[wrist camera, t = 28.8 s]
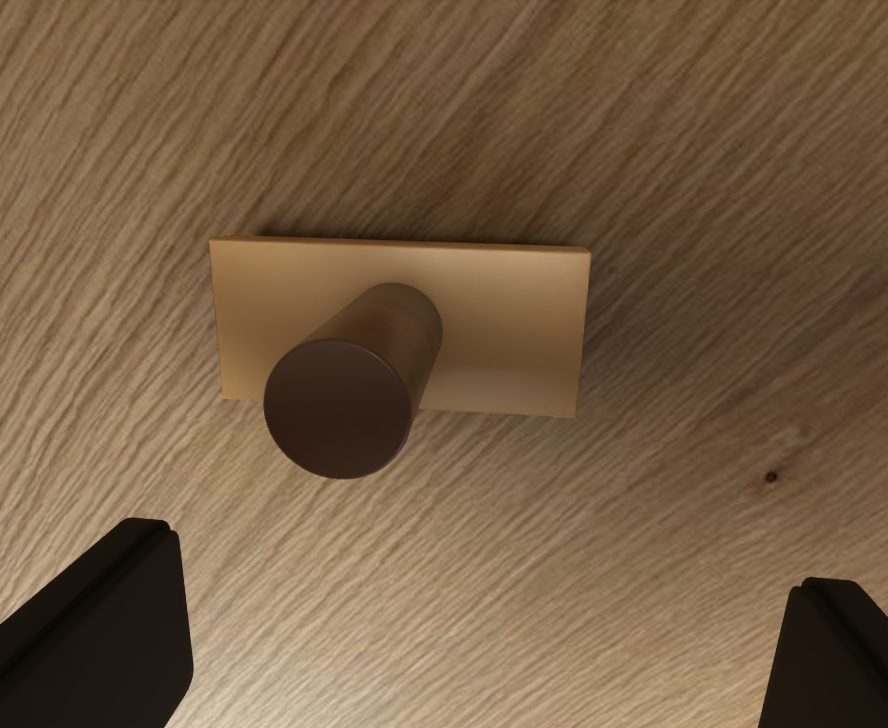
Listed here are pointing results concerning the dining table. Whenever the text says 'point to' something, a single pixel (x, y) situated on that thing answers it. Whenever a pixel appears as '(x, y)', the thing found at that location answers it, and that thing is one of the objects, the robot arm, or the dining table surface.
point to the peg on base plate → (393, 337)
